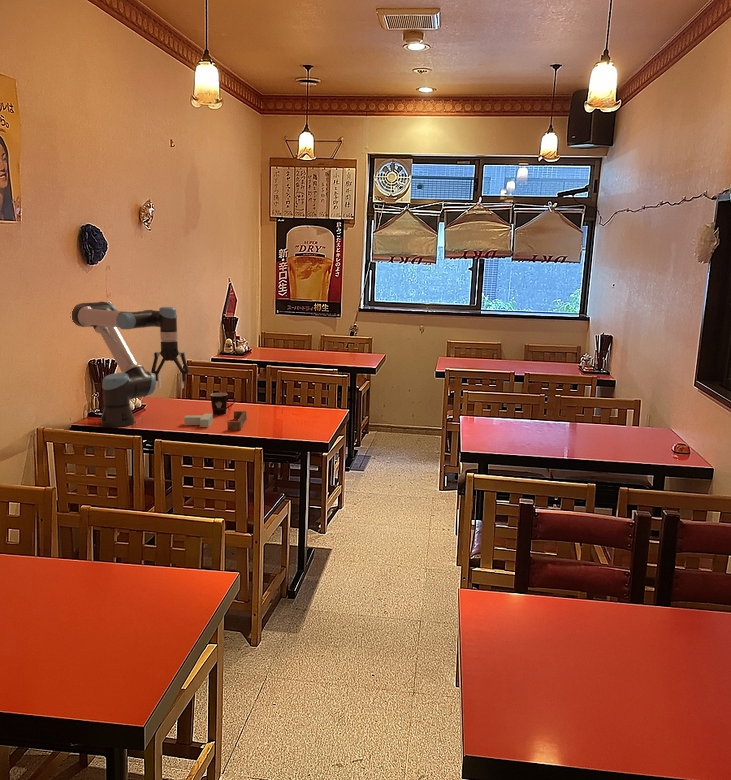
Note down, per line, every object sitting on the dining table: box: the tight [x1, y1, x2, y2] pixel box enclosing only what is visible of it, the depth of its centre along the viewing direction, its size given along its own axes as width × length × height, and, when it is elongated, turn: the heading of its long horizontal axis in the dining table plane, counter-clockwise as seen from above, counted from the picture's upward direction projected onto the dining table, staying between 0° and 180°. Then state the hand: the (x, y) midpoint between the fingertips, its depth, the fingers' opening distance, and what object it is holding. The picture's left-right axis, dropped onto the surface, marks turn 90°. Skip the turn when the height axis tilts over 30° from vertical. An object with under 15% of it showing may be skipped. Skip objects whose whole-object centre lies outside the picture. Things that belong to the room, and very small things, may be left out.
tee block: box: [183, 413, 214, 428], centre depth 330 cm, size 12×12×4 cm
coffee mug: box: [209, 392, 236, 416], centre depth 352 cm, size 12×9×10 cm
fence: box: [226, 410, 248, 431], centre depth 331 cm, size 6×22×4 cm, turn 3°
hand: (171, 388), depth 327 cm, fingers open, 10 cm apart
